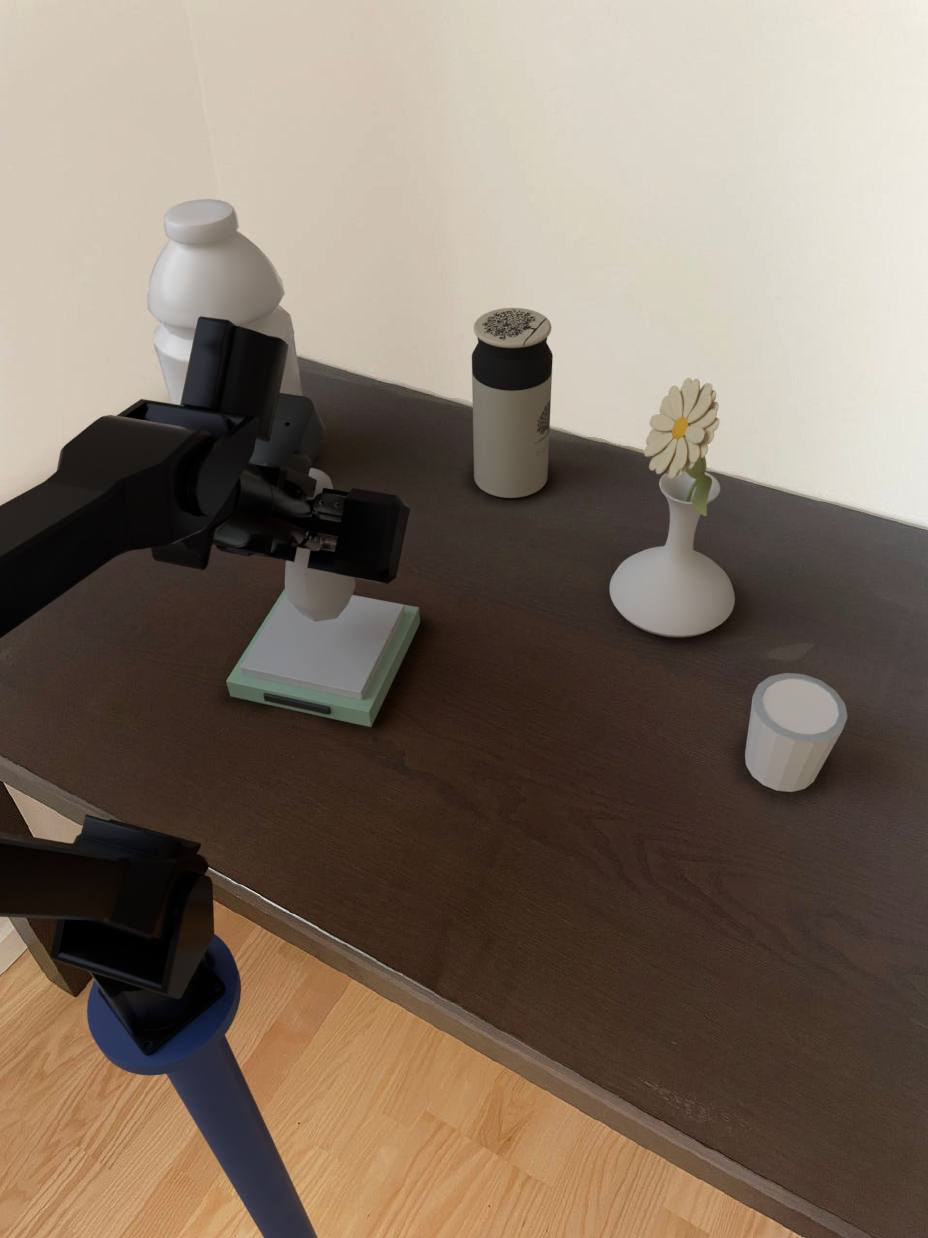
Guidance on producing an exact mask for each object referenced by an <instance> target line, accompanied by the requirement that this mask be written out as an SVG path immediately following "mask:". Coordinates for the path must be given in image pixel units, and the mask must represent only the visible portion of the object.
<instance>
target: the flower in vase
mask: <svg viewBox="0 0 928 1238" xmlns="http://www.w3.org/2000/svg"><path fill="white" fill-rule="evenodd" d="M716 398H717V392H716V390H715V389H714V390H713V384H712V383H708V382H706V383H704V384H703V385H702V386H701V383H700V380H699V378H694V379H693V380H692V379H691V378H690V377H687V378H685V379H684V380H683V382H682V385H681V387H680V389H679V387H678V386H677V385H672V386H670V388H669V390H668V392H667V395H666V396H664V397H663V398H662V400H661V405H660V406H659V413H657V414H656V413H655V414H654V415H652V416H651V418H650V420H649V426H650V427H651V430H650V431H649V434H648V435H647V437H646V439H645V443H646V445H647V446H645V448H644V451H643V454H644V457H645V458H649V457H652V458H651V460H650V462H649V465H648V469H649V470H650V471H653V472H654V471H655V473H656V475H660V474H663V473H664V472H665V471H666V472H665V473H664V474H663V475H662V476H661V477H660V478H659V483H658V484H659V488H660V492H662V494H663V495H664V497H665V498H666V500H667V503H668V508H669V527H668V534H667V539H666V542H665V544H664V545H660V546H654V547H650V548H647V549H644V550H642V551H639V552H637V553H635V554H632V555H631V556H629V557H627V558H626V559H625V560H623V561H622V562H621V563H619V565H618V567H617V569H616V570H615V572H614V573H613V574H612V576H611V579H610V582H609V596H610V599H611V601H612V603H613V606H614V607H615V608H616V610H617V611H618V612H619V614H620V615H621V616H622V617H624V619H625V620H626V621H628V622H629V623H630V624H631V625H633V626H635V627H637V628H638V629H640V630H642V631H644V632H647V633H649V634H652V635H657V636H660V637H667V638H691V637H696V636H700V635H703V634H706V633H708V632H710V631H713V630H714V629H716V628H718V626H720V625H722V624H723V623H724V622H726V620H727V619H728V618H729V617H730V616H731V614H732V612H733V611H734V607H735V602H736V597H735V596H736V595H735V591H734V587H733V584H732V581H731V580H730V577H729V576H728V574H727V572H726V571H724V570H723V568H722V567H720V565H718V564H717V563H716V562H715V561H714V560H712V559H711V558H710V557H708V556H706V555H705V554H703V553H701V552H698V551H696V550H695V549H694V541H695V534H696V530H697V526H698V523H699V520H700V517H701V515H702V516H703V517H707V514H708V512H707V511H708V504H710V503H711V502H712V501H714V500H715V499H716V498H717V497H718V496H719V494H720V492H721V485H720V482H719V481H718V480H717V478H716V477H715V476H714V475H712V474H710V473H709V472H706V471H707V460H706V455H707V454H708V451H709V446H708V445H710V444H711V443H712V442H713V440H714V438H715V431H716V430H717V429H718V428H719V426H720V419H719V418H718V417H717V414H718V410H719V402H718V401H716Z"/></svg>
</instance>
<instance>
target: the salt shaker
mask: <svg viewBox="0 0 928 1238" xmlns="http://www.w3.org/2000/svg"><path fill="white" fill-rule="evenodd" d="M309 476H310V477H312V478H314V479H316V480H317V484H316V489H315V494H314V497H307V499H308V500H313V499H314V498H315V496H316V495H317V494H319V493H322V490H323V488H328V489H334V486H333V483H332V480H331V478H330V476H328V474H326V473H325V472H324V471H322V470H320V469H317V468H314V467H311V469H310V471H309ZM314 513H318V512H316V511H315V512H314ZM310 517H311V514H310ZM306 535H308V532H307V534H306ZM309 555H310V550H308V549H302V548H297V551H296V556H295V561H294V562H291V561H286V560H285V572H284V589H285V590H286V595H287V598H288V599H289V601H290V602H291V603H292V604H293V605H294V607H295V608H296V609H297V610H298V612H299V613H301V614H302V615H304V616H306V617H307V618H309V619H311V620H312V621H314V622H317V621H323V620H330V619H336V618H337V617H338V616H339V615H340V614H341V612H342V611H343V610H344V609H345V608H346V607H347V605H348V603H349V601H350V599H351V596H352V595H354V592H355V589H356V578H352V577H348V576H343V575H339V574H335V573H332V572H326V571H321V570H316V569H311V568H307V565H308V560H309Z"/></svg>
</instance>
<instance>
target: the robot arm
mask: <svg viewBox="0 0 928 1238" xmlns="http://www.w3.org/2000/svg"><path fill="white" fill-rule="evenodd" d="M287 353H288V344H287V343H286V342H285V341H284V340H282V339H281V338H278V337H273V336H268V335H265V334H263V333H260V332H257V331H254V330H251V329H247V328H244V327H240V326H236V325H235V324H233V323H232V322H231V321H229V320H225V319H218V318H210V317H203V316H200V317H199V318H198V321H197V325H196V329H195V334H194V339H193V344H192V349H191V354H190V358H189V363H188V368H187V373H186V378H185V383H184V388H183V393H182V398H181V403H180V405H177V404H171V403H170V402H163V401H157V400H151V399H144V398H141V399H140V398H139V400H137V401H136V402H135V403H132V404H131V405H130V406H129V407H127V408H125V409H124V410H122V411H121V412H120V413H118V414H116V415H114V414H108V415H102V416H100V417H98V418H96V419H95V420H94V421H93V422H92V423H90V424H89V425H88V426H87V427H85V428H84V429H83V430H82V431H80V432H79V433H78V434H77V435H76V436H74V437H73V438H72V439H70V440H69V441H68V442H67V443H66V444H65V445H64V446H63V447H62V448H61V449H60V452H59V456H58V462H57V466H56V467H57V468H56V471H55V472H54V473H52V474H51V475H50V476H49V477H47V479H45V480H44V481H42V482H41V483H39V484H37V485H35V486H33V487H31V488H30V489H27V490H26V491H24V492H22V493H21V494H19V495H16V496H15V497H13V498H11V499H9V500H8V501H6V502H4V503H2V504H1V505H0V639H2V638H3V637H5V636H6V635H7V634H9V633H10V632H12V631H13V630H15V629H16V628H17V627H19V626H20V625H22V624H23V623H24V622H26V621H27V620H29V619H30V618H32V617H33V616H34V615H36V614H37V613H38V612H40V611H41V610H43V609H45V608H46V607H47V606H48V605H50V604H51V603H53V602H54V601H56V600H57V599H59V597H60V598H61V596H62V595H64V594H65V593H67V592H68V591H69V590H72V588H73V587H75V586H77V585H78V584H79V583H81V582H82V581H84V580H85V579H86V578H88V577H90V576H91V575H92V574H93V573H94V572H96V571H97V570H99V569H100V568H102V567H103V566H104V565H106V564H108V563H109V562H110V561H112V560H113V559H115V558H117V557H118V556H121V555H123V554H126V553H128V552H132V551H137V550H138V551H139V550H145V549H150V552H151V557H152V559H153V560H154V561H156V562H160V563H165V564H170V565H176V566H179V567H186V568H189V569H194V570H195V569H196V570H200V571H204V570H205V571H206V569H207V568H208V567H209V563H210V558H211V555H212V554H211V552H212V549H213V546H215V547H216V549H217V550H218V551H219V552H223V553H229V554H233V555H238V556H239V555H240V556H245V557H251V556H255V555H256V556H260V557H264V558H265V557H266V558H271V559H276V560H280V561H285V562H286V561H291V562H294V561H295V556H296V551H297V548H302V549H308V550H310V555H309V560H308V565H307V568H311V569H316V570H321V571H326V572H332V573H335V574H339V575H343V576H348V577H352V578H354V579H359V580H362V581H369V582H373V583H379V584H384V585H388V584H390V583H391V582H393V581H394V580H396V579H397V575H398V571H399V566H400V561H401V556H402V550H403V546H404V540H405V536H406V532H407V525H408V521H409V516H410V511H411V508H410V506H409V505H408V503H407V502H406V500H405V499H404V498H403V497H401V496H399V495H397V494H392V493H387V492H380V491H374V490H369V489H364V488H357V487H352V488H351V489H350V491H346V490H339V489H334V488H333V489H328V488H323V490H322V493H319V494H317V495H316V496H315V498H314V499H313V500H308V499H307V497H314V494H315V489H316V484H317V480H316V479H314V478H312V477H310V476H309V471H310V469H311V468H313V464H314V461H315V459H316V456H317V453H318V450H319V448H320V445H321V443H322V441H323V440H324V438H325V435H326V427H325V424H324V423H323V421H322V418H321V416H320V414H319V413H318V410H317V408H316V406H315V404H314V401H312V399H311V398H309V397H307V396H305V395H303V396H299V395H292V394H285V393H280V388H281V383H282V378H283V373H284V368H285V363H286V358H287ZM315 511H316V512H318V513H314V512H315ZM310 514H311V517H310ZM307 532H308V535H306V534H307ZM201 847H202V844H201V842H197V841H194V840H190V839H186V838H182V837H179V836H175V835H171V834H168V833H164V832H160V831H157V830H153V829H149V828H145V827H142V826H139V825H135V824H131V823H127V822H123V821H119V820H117V819H113V818H111V819H105V818H101V817H98V816H94V815H90V814H86V813H85V816H84V819H83V824H82V827H81V831H80V833H79V834H78V835H76V836H75V838H74V839H73V842H65V841H59V840H53V839H47V838H41V837H35V836H30V835H26V834H25V835H24V834H19V833H13V832H7V831H1V830H0V918H19V919H20V918H23V919H47V920H50V919H52V920H56V926H55V930H54V934H53V940H52V945H51V950H50V955H49V957H50V960H52V961H55V962H58V963H61V964H65V965H67V966H69V967H70V966H71V967H73V968H77V969H80V970H84V971H87V972H89V974H90V975H91V977H92V979H93V981H94V980H95V982H96V983H97V985H98V986H99V988H98V993H99V995H100V996H101V998H102V999H103V1000H104V1002H105V1003H106V1004H107V1006H108V1007H109V1008H110V1010H111V1011H112V1013H113V1014H114V1015H115V1017H116V1018H117V1019H118V1021H119V1022H120V1023H121V1025H122V1026H123V1028H124V1029H125V1030H126V1032H127V1033H128V1034H129V1036H130V1037H131V1038H132V1040H133V1041H134V1043H135V1044H136V1045H137V1047H138V1048H139V1049H140V1051H141V1052H142V1053H143V1054H144V1055H146V1056H149V1055H152V1054H153V1053H155V1052H156V1051H157V1050H158V1049H159V1048H161V1047H162V1046H163V1045H164V1044H165V1043H167V1042H168V1041H169V1040H170V1039H172V1038H173V1037H174V1036H175V1035H176V1034H178V1033H179V1032H180V1031H181V1030H182V1029H184V1028H185V1027H186V1026H187V1025H188V1024H190V1023H191V1022H192V1021H193V1020H195V1019H196V1018H197V1017H198V1016H199V1015H201V1014H202V1013H203V1012H204V1011H205V1010H207V1009H208V1008H209V1007H210V1006H211V1005H213V1004H214V1003H215V1002H216V1001H218V1000H219V999H220V998H221V997H222V996H223V995H224V994H225V992H226V987H225V985H224V983H223V982H222V981H221V980H220V978H219V977H218V976H217V975H216V974H215V972H214V971H213V970H212V968H214V967H215V964H216V961H215V958H214V956H213V954H212V951H211V949H210V947H209V944H210V942H211V940H212V938H213V936H214V934H215V911H214V907H215V906H214V885H213V880H212V878H211V877H210V876H209V875H206V874H207V872H208V869H209V865H210V864H209V863H208V861H207V859H206V857H205V856H203V855H201V854H198V852H199V851H200V849H201ZM217 988H221V990H220V991H219V992H215V990H216V989H217ZM149 1044H151V1045H152V1046H151V1048H150V1049H148V1050H146V1049H145V1048H146V1046H147V1045H149Z"/></svg>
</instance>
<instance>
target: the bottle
mask: <svg viewBox="0 0 928 1238" xmlns="http://www.w3.org/2000/svg"><path fill="white" fill-rule="evenodd" d="M238 219H239V218H238V215H237V212H236V209H235V208H234V206H233V205H232V204H230V203H229V202H227V201H225V200H221V199H213V198H203V199H194V200H188V201H184V202H181V203H178V204H175V205H173V206H172V207H170V208H168V209H167V210H166V212H165V213H164V214H163V228H164V233H165V235H166V237H167V238H168V239H169V241H168V242H167V243H166V244H165V245H164V247H163V248H162V249H161V251H160V253H159V254H158V256H157V258H156V260H155V262H154V264H153V267H152V270H151V272H150V277H149V281H148V290H147V297H146V299H147V300H146V303H147V304H146V306H147V310H148V311H149V312H150V314H151V315H152V316H153V317H154V318H155V320H156V321H159V323H158V325H157V326H156V328H154V330H153V346H154V351H155V353H156V356H157V359H158V363H159V366H160V370H161V373H162V377H163V381H164V384H165V388H166V393H167V395H168V400H169V403H171V404H177V405H180V403H181V398H182V393H183V388H184V383H185V378H186V373H187V368H188V363H189V358H190V354H191V349H192V344H193V339H194V334H195V329H196V325H197V321H198V318H199V317H200V316H203V317H210V318H218V319H225V320H229V321H231V322H232V323H233V324H235V325H236V326H240V327H244V328H247V329H251V330H254V331H257V332H260V333H263V334H265V335H268V336H273V337H278V338H281V339H282V340H284V341H285V342H286V343H287V344H288V353H287V358H286V363H285V368H284V373H283V378H282V383H281V388H280V393H285V394H292V395H299V396H304V394H303V388H302V382H301V375H300V368H299V361H298V355H297V348H296V340H295V330H294V326H293V325H294V323H293V320H292V316H291V314H290V313H289V312H288V311H287V310H286V309H285V308H284V307H283V306H282V305H280V302H281V301H282V299H284V296H285V295H286V293H285V292H286V291H285V288H284V283H283V279H282V277H281V276H280V275H279V272H278V271H277V269H276V267H275V265H274V264H273V262H272V261H271V259H270V258H269V257H268V256H267V255H266V253H265V252H264V251H262V249H261V248H259V246H257V244H255V243H254V242H253V241H251V240H250V239H249V238H248V237H247V236H246V235H244V234H243V233H242V232H240V231H238V230H239V228H240V225H239V220H238Z"/></svg>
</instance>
